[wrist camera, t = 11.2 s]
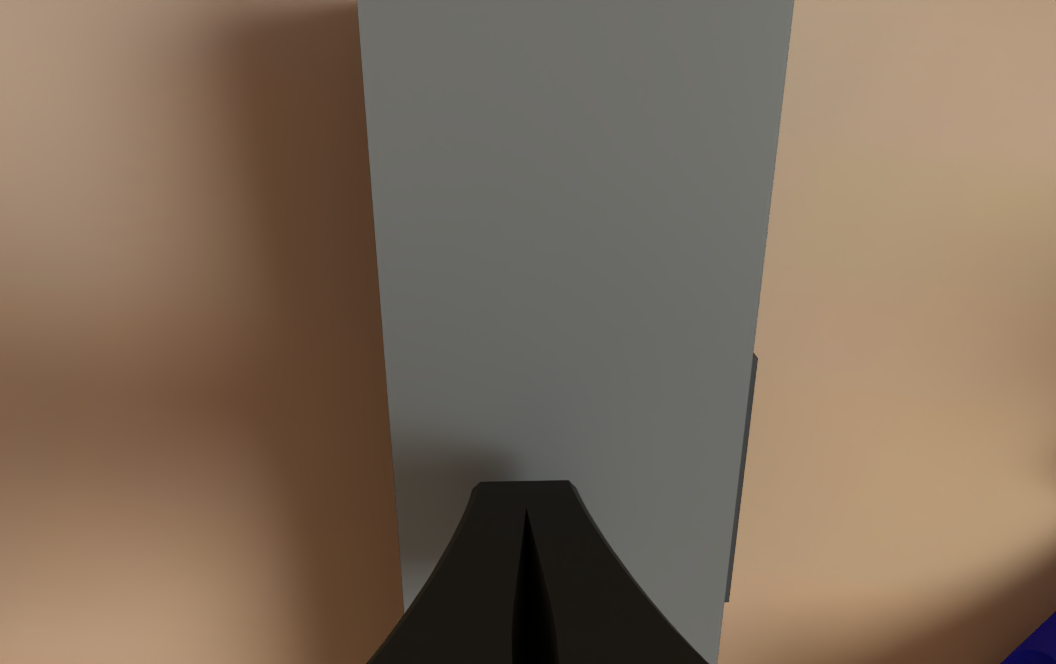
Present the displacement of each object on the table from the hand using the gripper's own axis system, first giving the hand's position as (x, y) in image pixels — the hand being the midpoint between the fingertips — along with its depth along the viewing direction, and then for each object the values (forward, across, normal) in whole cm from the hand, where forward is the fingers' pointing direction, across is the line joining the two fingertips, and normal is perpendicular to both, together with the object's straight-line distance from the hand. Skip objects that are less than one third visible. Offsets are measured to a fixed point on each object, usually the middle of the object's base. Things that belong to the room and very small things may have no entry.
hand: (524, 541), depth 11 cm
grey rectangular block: (+4, -1, +1) cm, 4 cm away
